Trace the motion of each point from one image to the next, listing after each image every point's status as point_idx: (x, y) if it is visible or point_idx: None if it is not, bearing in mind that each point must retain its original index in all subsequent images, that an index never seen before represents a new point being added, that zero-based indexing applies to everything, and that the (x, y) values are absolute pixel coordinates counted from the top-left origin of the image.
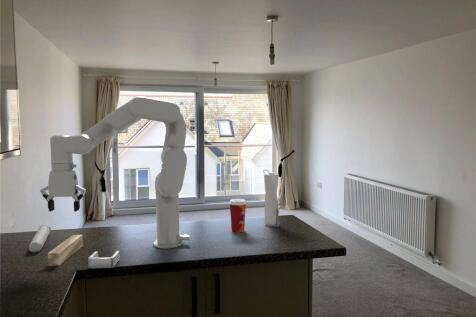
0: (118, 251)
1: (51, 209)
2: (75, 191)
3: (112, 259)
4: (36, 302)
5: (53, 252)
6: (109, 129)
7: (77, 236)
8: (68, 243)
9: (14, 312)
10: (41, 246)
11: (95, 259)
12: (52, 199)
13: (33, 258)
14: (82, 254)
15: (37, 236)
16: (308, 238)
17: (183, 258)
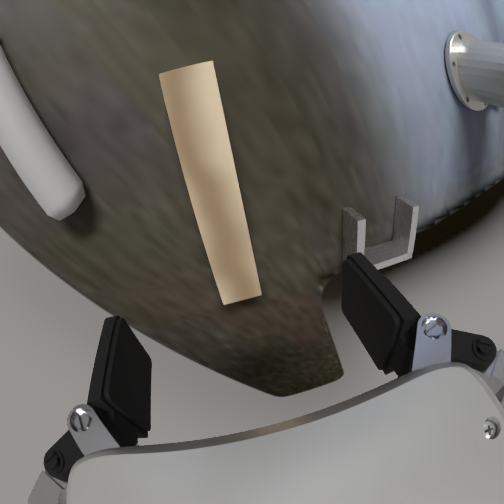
0: (417, 209)
1: (147, 364)
2: (448, 399)
3: (408, 256)
4: (308, 377)
5: (238, 295)
6: None
7: (203, 92)
8: (227, 199)
9: (293, 394)
10: (79, 185)
11: None
12: (114, 421)
13: (119, 243)
14: (271, 166)
15: (15, 154)
16: None
17: (492, 170)
